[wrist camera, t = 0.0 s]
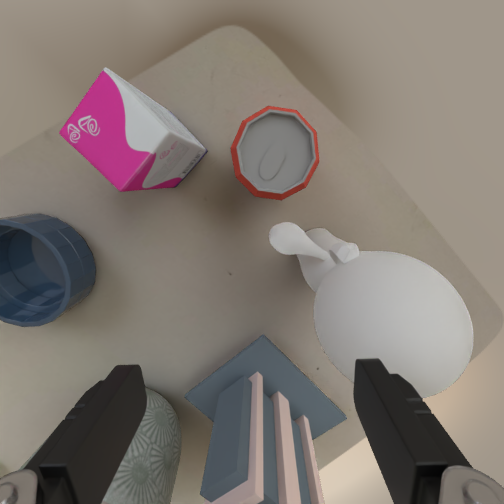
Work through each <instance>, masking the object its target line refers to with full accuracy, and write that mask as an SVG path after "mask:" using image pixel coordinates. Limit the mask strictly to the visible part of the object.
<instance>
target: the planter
mask: <svg viewBox="0 0 504 504" xmlns="http://www.w3.org/2000/svg"><path fill="white" fill-rule="evenodd" d="M145 390H146V395H147V408H146V412H145V415H144V417H143V419H142V421H141V423H140V425H139V427H138V430H137V432H136V434H135V436H134V438H133V440H132V442H131V444H130V446H129V448H128V450H127V452H126V454H125V456H124V458H123V460H122V462H121V464H120V466H119V468H118V470H117V472H116V474H115V476H114V478H113V480H112V482H111V485H110V487H109V489H108V491H107V493H106V495H105V497H104V499H103V501H102V503H101V504H170V502H171V498H172V493H173V488H174V484H175V479H176V475H177V470H178V466H179V461H180V454H181V428H180V423H179V420H178V417H177V415H176V413H175V411H174V409H173V408H172V406H171V405H170V404H169V402H168V401H167V400H166V399H165V398H164V397H162V396H161V395H160V394H158V393H157V392H155V391H153V390H151V389H148V388H145ZM48 438H49V437H48ZM44 443H45V442H44ZM44 443H43V444H44ZM43 444H42V445H43ZM42 445H41V446H42ZM41 446H40V447H41ZM40 447H39V448H38V449H37V451H38V450H39V449H40ZM37 451H36V452H37ZM36 452H35V453H34V454H33V455H32V456H31V457H30V458H29V459H28V460H27V461H26V462H25V464H24V465H23V466H22V467H21V468H20V469H19V470H22V469H23V468H24V467H25V466H26V465H27V463H28V462H29V461H30V460H31V458H32V457H33V456H34V455H35V454H36Z"/></svg>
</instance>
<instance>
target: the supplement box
mask: <svg viewBox="0 0 504 504" xmlns="http://www.w3.org/2000/svg"><path fill="white" fill-rule="evenodd" d="M59 134H60V135H61V136H62V137H63V138H64V139H65V140H66V141H67V142H68V143H70V144H71V145H72V146H73V147H74V148H75V149H76V150H77V151H78V152H79V153H81V154H82V155H83V156H84V157H85V158H86V159H87V160H88V161H89V162H90V163H91V164H92V165H93V166H94V167H95V168H96V169H97V170H98V171H99V172H100V173H101V174H102V175H103V176H104V177H105V178H107V179H108V180H109V181H110V182H111V183H112V184H113V185H114V186H115V187H116V188H117V189H118V190H119V191H120V192H124V191H134V190H147V189H159V188H173V187H176V186H177V185H178V184H179V183H180V182H181V181H182V180H183V179H184V178H185V177H186V175H187V174H188V173H189V172H190V171H191V170H192V169H193V168H194V167H195V165H196V164H197V163H198V162H199V161H200V160H201V159H202V157H203V156H204V155H205V154H206V153H207V150H206V149H205V147H204V146H203V145H202V144H201V143H200V142H199V141H198V140H197V139H196V138H195V137H194V136H193V135H192V134H191V133H190V132H189V130H188V129H187V128H186V127H185V126H184V125H183V124H182V123H181V122H180V121H179V120H178V119H177V118H176V117H175V116H174V115H173V114H172V113H171V112H170V111H169V110H167V109H166V108H164V107H163V106H161V105H160V104H158V103H157V102H155V101H154V100H153V99H151V98H150V97H148V96H147V95H145V94H144V93H142V92H141V91H140V90H138V89H137V88H135V87H134V86H132V85H131V84H129V83H128V82H127V81H125V80H124V79H122V78H121V77H119V76H118V75H116V74H115V73H114V72H112V71H111V70H109V69H108V68H104V69H103V71H102V72H101V73H100V75H99V76H98V78H97V79H96V81H95V82H94V83H93V85H92V86H91V88H90V89H89V91H88V92H87V94H86V95H85V96H84V98H83V99H82V101H81V102H80V104H79V105H78V107H77V108H76V109H75V111H74V112H73V114H72V115H71V116H70V118H69V119H68V121H67V122H66V123H65V125H64V126H63V128H62V129H61V131H60V132H59Z"/></svg>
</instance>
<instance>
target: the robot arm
mask: <svg viewBox="0 0 504 504" xmlns="http://www.w3.org/2000/svg"><path fill="white" fill-rule="evenodd" d="M354 403H355V407H356V411H357V414H358V416H359V419H360V421H361V424H362V426H363V429H364V431H365V433H366V436H367V438H368V441H369V443H370V446H371V448H372V451H373V453H374V456H375V458H376V460H377V463H378V465H379V468H380V470H381V473H382V475H383V478H384V480H385V483H386V485H387V487H388V490H389V492H390V495H391V497H392V500H393V502H394V504H504V488H503V487H502V486H501V485H500V484H499V483H497V482H496V481H495V480H493V479H492V478H490V477H489V476H487V475H486V474H484V473H482V472H480V471H478V470H476V469H473V467H472V466H471V465H470V464H469V462H468V461H467V459H466V458H465V457H464V455H463V454H462V453H461V451H460V450H459V449H458V447H457V446H456V444H455V443H454V442H453V440H452V439H451V438H450V436H449V435H448V433H447V432H446V431H445V429H444V428H443V427H442V425H441V424H440V422H439V421H438V420H437V418H436V417H435V416H434V414H432V413H431V410H430V409H429V407H428V406H427V405H426V403H425V402H423V401H422V398H421V396H420V395H419V394H418V392H417V391H416V389H415V388H414V387H413V385H412V384H410V383H409V382H408V381H407V380H405V379H404V378H403V377H401V376H400V375H399V374H389V372H388V370H387V369H386V367H385V366H384V364H383V363H382V361H381V360H380V359H379V358H369V359H356V361H355V374H354ZM146 408H147V395H146V390H145V385H144V381H143V376H142V371H141V368H140V366H139V365H117V366H116V367H115V368H114V369H113V370H112V371H111V373H110V374H109V375H108V376H107V378H106V379H105V380H104V381H99V382H98V383H97V384H95V385H94V386H93V387H92V388H90V389H89V390H88V391H86V392H85V394H84V395H83V396H82V397H81V398H80V400H79V401H78V402H77V403H76V405H75V407H74V408H72V409H71V411H70V412H69V413H68V414H67V416H66V418H65V420H63V421H62V422H61V423H60V424H59V425H58V427H57V428H56V429H55V430H54V432H53V433H52V434H51V435H50V436H49V438H48V439H47V440H46V441H45V443H44V444H43V445H42V446H41V447H40V449H39V450H38V451H37V452H36V454H35V455H34V456H33V457H32V458H31V460H30V461H29V462H28V463H27V465H26V466H25V467H24V468H23V469H22V470H18V471H15V472H12V473H9V474H7V475H5V476H3V477H2V478H0V504H101V503H102V501H103V499H104V497H105V495H106V493H107V491H108V489H109V487H110V485H111V482H112V480H113V478H114V476H115V474H116V472H117V470H118V468H119V466H120V464H121V462H122V460H123V458H124V456H125V454H126V452H127V450H128V448H129V446H130V444H131V442H132V440H133V438H134V436H135V434H136V432H137V430H138V427H139V425H140V423H141V421H142V419H143V417H144V415H145V412H146Z"/></svg>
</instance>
